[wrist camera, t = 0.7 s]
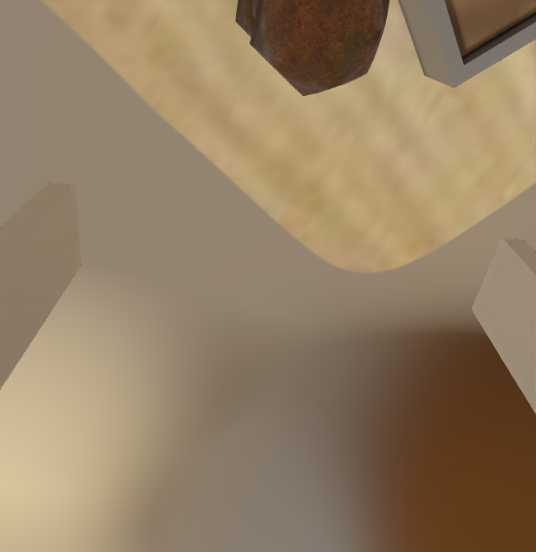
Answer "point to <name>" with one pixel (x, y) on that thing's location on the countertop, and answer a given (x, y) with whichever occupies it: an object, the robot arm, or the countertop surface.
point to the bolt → (315, 38)
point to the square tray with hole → (485, 19)
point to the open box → (443, 46)
